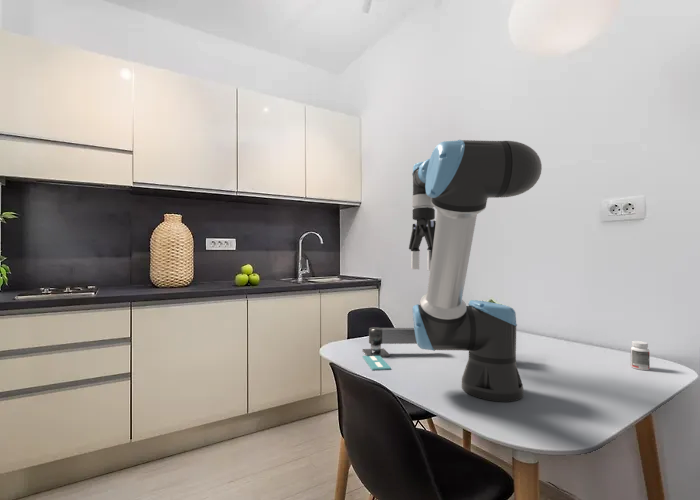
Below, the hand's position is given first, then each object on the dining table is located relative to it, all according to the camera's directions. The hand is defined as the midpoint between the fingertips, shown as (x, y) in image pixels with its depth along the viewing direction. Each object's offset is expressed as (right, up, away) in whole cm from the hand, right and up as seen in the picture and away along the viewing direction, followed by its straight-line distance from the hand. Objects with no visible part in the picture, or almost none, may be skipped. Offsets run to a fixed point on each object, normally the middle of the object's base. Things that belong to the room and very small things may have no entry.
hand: (423, 270), depth 123 cm
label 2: (-16, -30, -9) cm, 35 cm away
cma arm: (-6, -26, +6) cm, 28 cm away
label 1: (-17, -30, -2) cm, 35 cm away
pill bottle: (+69, -32, -7) cm, 76 cm away
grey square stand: (-16, -30, +5) cm, 35 cm away
